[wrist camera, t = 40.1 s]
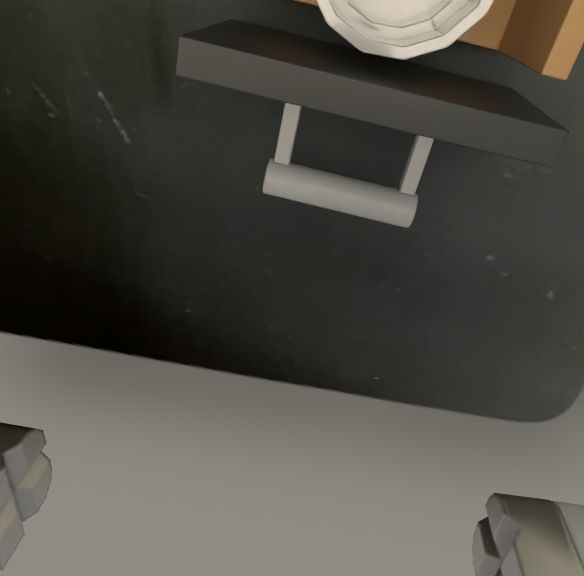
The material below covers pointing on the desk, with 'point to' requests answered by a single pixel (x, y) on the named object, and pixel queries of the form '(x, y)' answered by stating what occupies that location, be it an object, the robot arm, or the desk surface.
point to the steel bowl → (402, 23)
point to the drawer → (392, 97)
